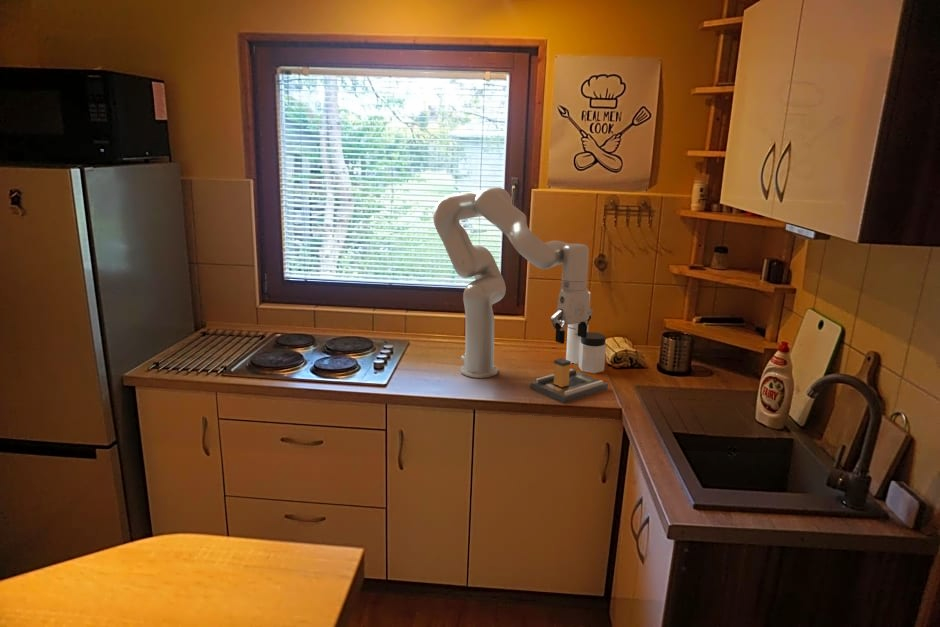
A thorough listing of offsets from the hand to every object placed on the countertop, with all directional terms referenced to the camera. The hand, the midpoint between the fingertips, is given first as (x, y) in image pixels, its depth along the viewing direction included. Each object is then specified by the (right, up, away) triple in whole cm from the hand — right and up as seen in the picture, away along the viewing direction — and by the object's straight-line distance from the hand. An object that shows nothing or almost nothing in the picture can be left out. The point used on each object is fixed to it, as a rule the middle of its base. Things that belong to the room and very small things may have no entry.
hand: (571, 339), depth 194 cm
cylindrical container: (+7, -9, +30) cm, 32 cm away
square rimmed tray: (0, -14, +4) cm, 14 cm away
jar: (+11, -11, +22) cm, 27 cm away
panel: (0, -16, +4) cm, 16 cm away
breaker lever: (-3, -14, +2) cm, 14 cm away
